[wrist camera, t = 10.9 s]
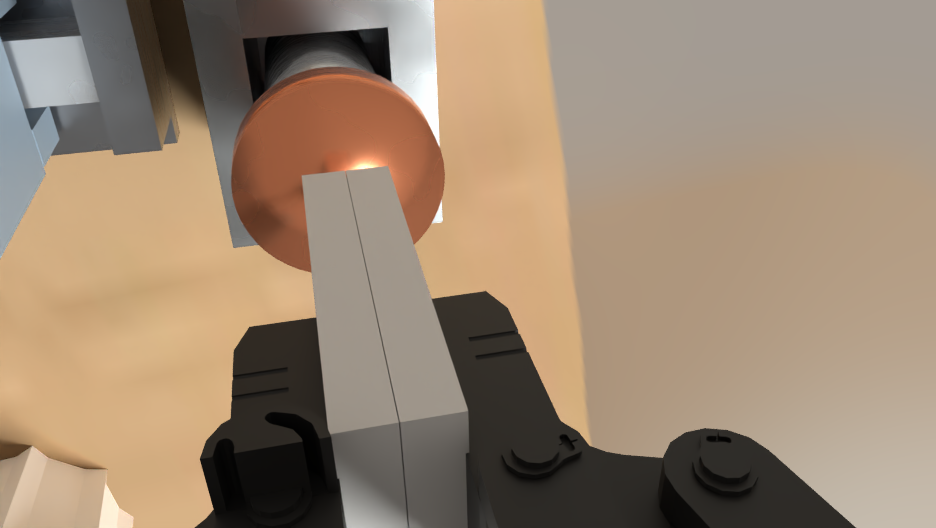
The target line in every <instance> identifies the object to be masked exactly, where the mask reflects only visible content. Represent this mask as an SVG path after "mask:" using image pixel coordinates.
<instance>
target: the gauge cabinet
mask: <svg viewBox="0 0 936 528" xmlns="http://www.w3.org/2000/svg"><path fill="white" fill-rule="evenodd" d="M183 4H184V8H185V13H186V18H187V23H188V28H189V33H190V38H191V43H192V48H193V52H194V57H195V62H196V67H197V72H198V77H199V82H200V87H201V92H202V96H203V101H204V106H205V111H206V116H207V121H208V126H209V131H210V136H211V141H212V145H213V150H214V155H215V160H216V165H217V170H218V175H219V180H220V185H221V189H222V194H223V199H224V204H225V209H226V214H227V219H228V224H229V229H230V233H231V238H232V243H233V248H237V247H245V246H253V245H259V244H257V243H256V242H255V240H254V239H253V238H252V237H251V236H250V234H249V233H248V232H247V230H246V229H245V227H244V225H243V224H242V222H241V220H240V218H239V215H238V213H237V211H236V208H235V204H234V201H233V197H232V188H231V170H232V156H233V148H234V142H235V138H236V135H237V132H238V129H239V126H240V124H241V123H242V121H243V119H244V117H245V115H246V113H247V112H248V111H249V109H250V108H251V106H252V105H253V104H254V103H255V102H256V101H257V100H258V98H259V97H260V96H261V95H262V94H263V93H265V45H266V41H267V38H268V37H270V36H282V35H295V34H308V33H320V32H333V31H346V30H357V31H358V33H359V34H360V37H361V39H362V41H363V44H364V46H365V49H366V51H367V54H368V57H369V59H370V62H371V64H372V67H373V69H374V72H375V74H376V75H379V76H381V77H383V78H385V79H387V80H389V81H390V82H392V83H394V84H395V85H396V86H398V87H399V88H401V89H402V90H403V91H404V92H405V93H407V94H408V95H409V96H410V97H411V98H412V99H413V100H414V102H415V103H416V104H417V105H418V107H419V108H420V109H421V111H422V113H423V114H424V116H425V118H426V119H427V121H428V123H429V125H430V127H431V129H432V131H433V134H434V136H435V138H436V140H437V142H438V145H439V122H438V97H437V73H436V48H435V24H434V0H183ZM438 222H443V220H442V200H441V203H440V206H439V209H438V211H437V213H436V216H435V218H434V220H433V221H432V223H438Z"/></svg>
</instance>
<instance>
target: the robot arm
mask: <svg viewBox="0 0 936 528" xmlns="http://www.w3.org/2000/svg"><path fill="white" fill-rule="evenodd" d="M302 184H303V193H304V203H305V213H306V222H307V232H308V242H309V251H310V261H311V270H312V280H313V290H314V299H315V309H316V318H309V319H302V320H295V321H288V322H281V323H274V324H267V325H260V326H253V327H249V328H248V330H247V331H246V333H245V334H244V336H243V338H242V339H241V341H240V342H239V344H238V345H237V347H236V348H235V350H234V358H233V380H232V403H231V419H230V420H228V421H226V422H224V423H223V424H221V425H220V426H219V427H218V428H217V430H216V431H215V432H214V433H213V434H212V435H211V436H210V437H209V438H208V439H207V441H206V443H205V446H204V449H203V452H202V454H201V457H200V461H201V465H202V469H203V472H204V476H205V479H206V483H207V487H208V490H209V494H210V498H211V501H212V505H213V508H214V510H213V511H212V512H211V513H210V515H209V516H208V517H207V518H206V519H205V520H204V521H202V522H201V523H200V524H199V525H197V526H196V527H195V528H856V527H854V526H853V525H852V524H851V523H850V522H849V521H848V520H847V519H845V518H844V517H843V516H842V515H841V514H840V513H839V512H838V511H836V510H835V509H834V508H833V507H832V506H831V505H829V503H827V502H826V501H825V500H824V499H823V498H822V497H821V496H820V495H818V494H817V493H816V492H815V491H814V490H813V489H812V488H811V487H809V486H808V485H807V484H806V483H805V482H804V481H803V480H802V479H800V478H799V477H798V476H797V475H796V474H795V473H794V472H792V471H791V470H790V469H789V468H788V467H787V466H786V465H785V464H783V463H782V462H781V461H780V460H779V459H778V458H777V457H776V456H775V455H773V454H772V453H771V452H770V451H769V450H767V449H766V448H764V447H763V446H761V445H759V444H758V443H757V442H755V441H754V440H752V439H751V438H749V437H746V436H743V435H740V434H737V433H734V432H731V431H728V430H718V429H706V428H704V429H700V430H695V431H691V432H686V433H684V434H682V435H681V436H679V437H678V438H676V439H675V440H673V441H672V442H671V443H670V445H669V447H668V449H667V451H666V453H665V455H664V457H663V458H655V457H643V456H631V455H621V454H615V453H610V452H605V451H602V450H599V449H597V448H594V447H591V446H589V445H588V443H587V442H586V441H585V440H584V438H583V437H582V436H581V435H580V433H579V432H578V431H576V430H574V429H573V428H571V427H569V426H568V425H566V424H564V423H563V422H561V421H560V419H559V417H558V415H557V413H556V411H555V409H554V407H553V405H552V402H551V400H550V398H549V396H548V394H547V392H546V389H545V387H544V385H543V383H542V381H541V379H540V377H539V374H538V372H537V370H536V368H535V366H534V364H533V361H532V359H531V357H530V355H529V353H528V352H527V351H526V346H525V344H524V342H523V340H522V338H521V336H520V334H518V329H517V327H516V325H515V323H514V321H513V318H512V316H511V314H510V312H509V310H508V308H507V307H506V306H504V305H503V304H502V303H500V302H499V301H498V300H497V299H495V298H494V297H493V296H491V295H490V294H489V293H488V292H486V291H484V292H477V293H470V294H463V295H456V296H449V297H442V298H435V299H431V295H430V292H429V289H428V286H427V283H426V280H425V277H424V274H423V271H422V268H421V265H420V262H419V259H418V256H417V253H416V250H415V247H414V244H413V240H412V237H411V234H410V231H409V228H408V225H407V222H406V219H405V216H404V213H403V210H402V207H401V204H400V201H399V198H398V195H397V192H396V189H395V185H394V182H393V179H392V176H391V173H390V170H389V167H388V166H383V167H373V168H364V169H355V170H346V173H345V171H337V172H328V173H319V174H310V175H302Z"/></svg>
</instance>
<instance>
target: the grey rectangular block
mask: <svg viewBox="0 0 936 528" xmlns="http://www.w3.org/2000/svg"><path fill="white" fill-rule="evenodd" d="M16 3H17V2H16V0H0V18H1V17H2V16H3V15H4V14H6V13H7V12H8V11H9V10H10V9H11V8H12V7H13V6H14V5H15V4H16ZM58 141H59V136H58V133H57V129H56V126H55V123H54V120H53V117H52V114H51V110H50V107H38V108H27V109H24V107H23V104H22V101H21V98H20V95H19V92H18V89H17V86H16V83H15V79H14V76H13V73H12V70H11V67H10V64H9V61H8V58H7V55H6V52H5V49H4V46H3V43H2V40H1V37H0V258H1V256H2V254H3V253H4V251H5V249H6V247H7V245H8V243H9V241H10V239H11V238H12V236H13V234H14V232H15V230H16V228H17V226H18V225H19V223H20V221H21V219H22V217H23V215H24V213H25V212H26V210H27V208H28V206H29V204H30V202H31V200H32V198H33V197H34V195H35V193H36V191H37V189H38V187H39V185H40V184H41V182H42V180H43V178H44V176H45V174H46V173H45V170H44V166H45V165H46V163H47V161H48V159H49V157H50V156H51V154H52V152H53V150H54V148H55V146H56V145H57V143H58Z"/></svg>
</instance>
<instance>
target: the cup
mask: <svg viewBox="0 0 936 528" xmlns="http://www.w3.org/2000/svg"><path fill="white" fill-rule="evenodd" d="M107 470H108V469H83V468H80V467H77V466H74V465H70V464H67V463H64V462H61V461H57V460H54V459H51V458H48V457H47V456H45V455H44V454H43V453H41V452H40V451H39V450H37V449H36V448H35V447H33V446H31V447H30V448H28V449H27V450H25V451H24V452H22V453H21V454H19V455H18V456H17V457H13V458H8V459H4V460H0V528H133V517H132V516H131V515H129V514H128V513H126V512H125V511H123V510H122V509H120V508H119V507H118V505H117V503H116V501H115V500H114V498H113V496H112V494H111V492H110V490H109V489H108V487H107V485H106V479H107Z"/></svg>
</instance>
